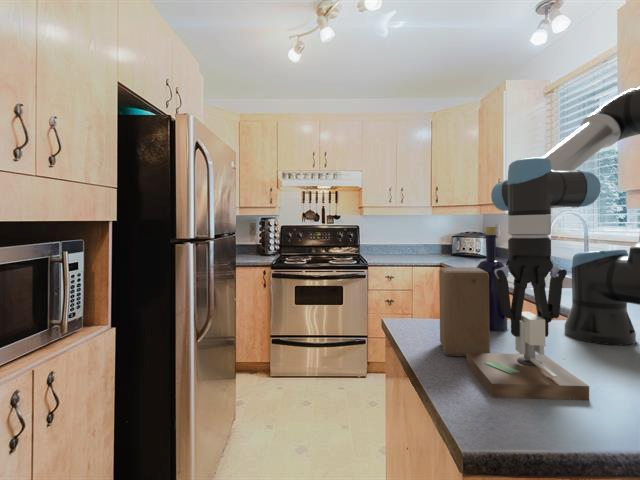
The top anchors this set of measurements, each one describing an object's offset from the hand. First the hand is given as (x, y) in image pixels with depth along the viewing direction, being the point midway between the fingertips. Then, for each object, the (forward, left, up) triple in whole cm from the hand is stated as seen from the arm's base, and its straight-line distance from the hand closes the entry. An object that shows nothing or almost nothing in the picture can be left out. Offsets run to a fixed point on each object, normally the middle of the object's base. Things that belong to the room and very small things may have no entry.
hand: (529, 351), depth 74 cm
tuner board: (+3, +3, -5) cm, 6 cm away
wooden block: (+9, -14, -5) cm, 17 cm away
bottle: (-4, -35, -5) cm, 36 cm away
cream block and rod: (0, +3, -1) cm, 4 cm away
